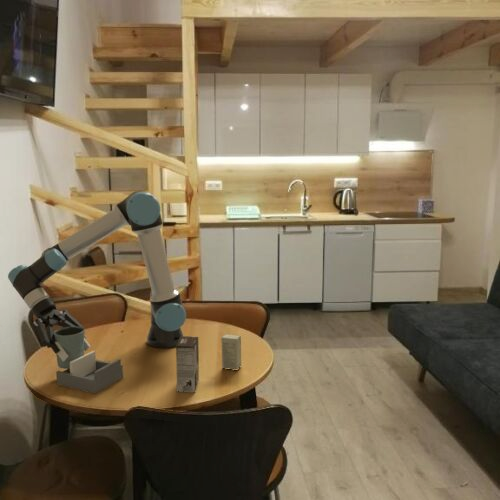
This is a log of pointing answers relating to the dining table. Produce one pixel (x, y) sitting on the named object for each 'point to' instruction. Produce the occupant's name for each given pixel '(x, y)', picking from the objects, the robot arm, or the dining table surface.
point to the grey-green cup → (70, 344)
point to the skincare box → (231, 351)
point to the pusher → (83, 364)
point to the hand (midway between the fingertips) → (77, 353)
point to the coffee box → (187, 364)
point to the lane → (93, 377)
